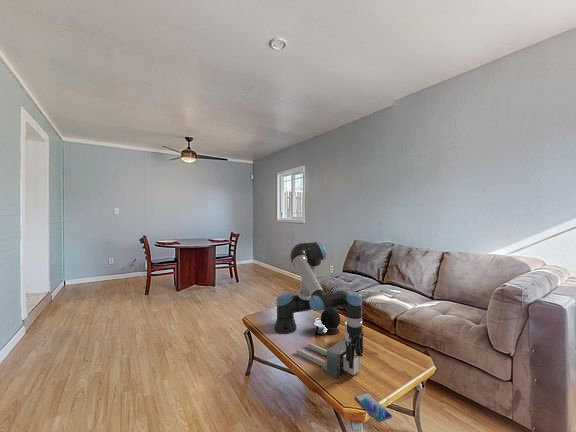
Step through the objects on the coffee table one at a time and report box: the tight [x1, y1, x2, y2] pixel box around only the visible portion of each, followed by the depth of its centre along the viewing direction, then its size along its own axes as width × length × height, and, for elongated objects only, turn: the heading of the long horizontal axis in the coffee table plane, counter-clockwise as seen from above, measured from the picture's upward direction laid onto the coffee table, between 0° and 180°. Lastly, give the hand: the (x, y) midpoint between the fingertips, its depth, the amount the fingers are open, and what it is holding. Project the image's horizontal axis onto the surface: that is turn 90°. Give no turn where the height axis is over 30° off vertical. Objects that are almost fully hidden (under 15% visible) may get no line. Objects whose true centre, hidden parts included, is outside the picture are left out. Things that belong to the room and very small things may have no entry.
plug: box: [340, 354, 360, 375], centre depth 135 cm, size 16×5×7 cm, turn 45°
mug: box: [344, 320, 353, 345], centre depth 160 cm, size 12×8×12 cm
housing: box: [321, 339, 346, 379], centre depth 137 cm, size 8×19×10 cm, turn 136°
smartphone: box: [354, 392, 393, 423], centre depth 108 cm, size 7×1×15 cm
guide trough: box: [296, 342, 327, 368], centre depth 146 cm, size 22×11×2 cm, turn 46°
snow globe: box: [320, 308, 341, 336], centre depth 178 cm, size 13×13×15 cm
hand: (355, 371), depth 130 cm, fingers closed on plug, 5 cm apart
